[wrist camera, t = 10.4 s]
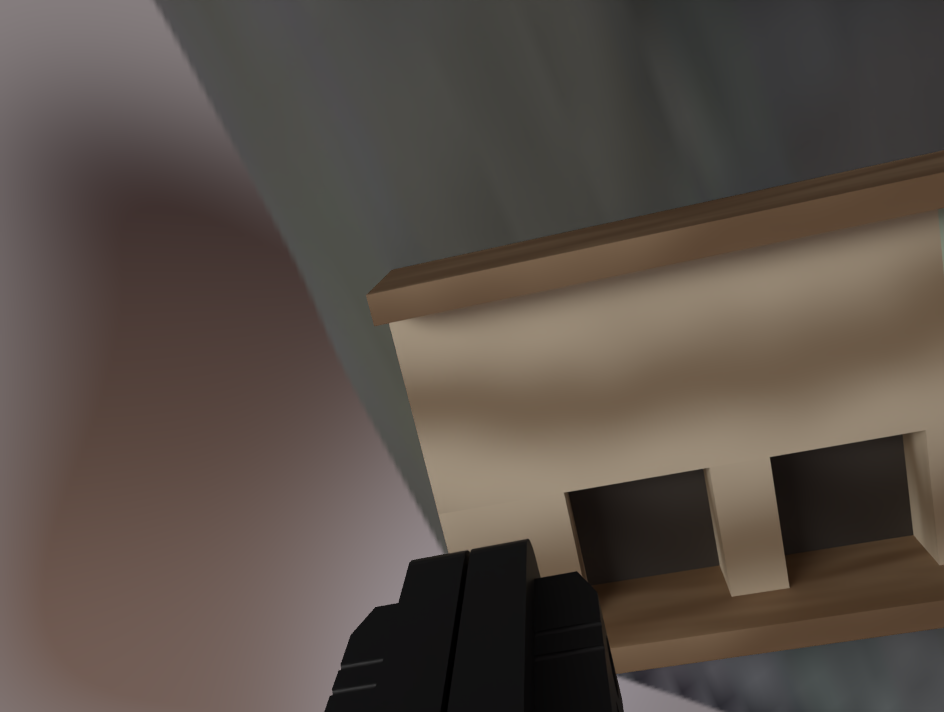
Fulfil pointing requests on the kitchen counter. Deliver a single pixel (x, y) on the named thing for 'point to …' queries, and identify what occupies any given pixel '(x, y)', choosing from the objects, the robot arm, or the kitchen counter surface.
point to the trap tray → (701, 411)
